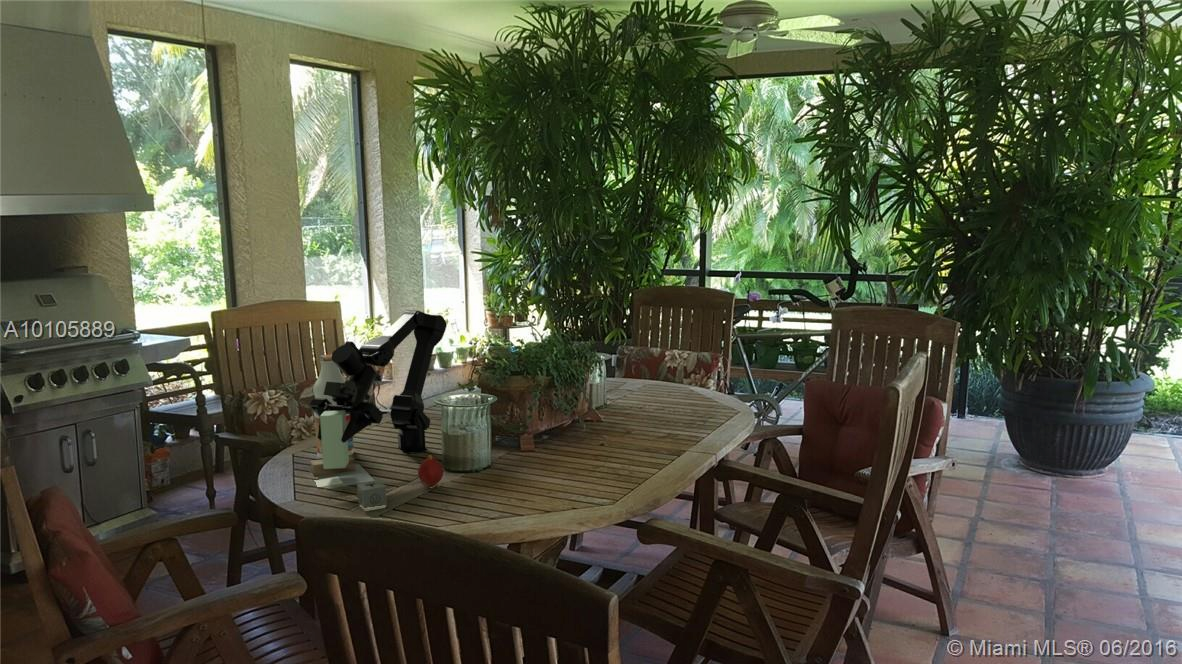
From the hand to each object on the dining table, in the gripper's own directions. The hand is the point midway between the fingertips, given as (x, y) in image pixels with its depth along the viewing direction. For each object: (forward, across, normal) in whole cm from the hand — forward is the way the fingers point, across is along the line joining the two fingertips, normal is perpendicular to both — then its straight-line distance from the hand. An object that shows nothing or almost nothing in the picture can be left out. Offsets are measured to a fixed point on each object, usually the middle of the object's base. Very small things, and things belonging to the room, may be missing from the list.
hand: (330, 440), depth 198 cm
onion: (+3, +24, +12) cm, 27 cm away
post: (+4, 0, +6) cm, 7 cm away
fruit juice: (-5, -15, +21) cm, 26 cm away
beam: (+3, -5, +11) cm, 12 cm away
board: (+6, -1, +9) cm, 11 cm away
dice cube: (+14, +19, +2) cm, 24 cm away
